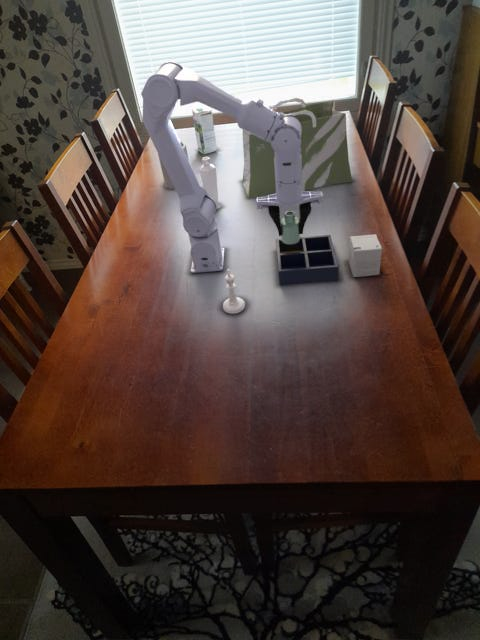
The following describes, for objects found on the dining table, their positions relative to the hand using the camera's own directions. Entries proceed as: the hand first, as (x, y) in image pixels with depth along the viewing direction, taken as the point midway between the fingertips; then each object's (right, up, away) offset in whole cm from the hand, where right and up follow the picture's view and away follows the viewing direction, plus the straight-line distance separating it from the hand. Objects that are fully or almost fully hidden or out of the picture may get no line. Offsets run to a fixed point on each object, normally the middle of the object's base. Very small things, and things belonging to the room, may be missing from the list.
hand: (290, 232), depth 106 cm
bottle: (0, -1, +1) cm, 2 cm away
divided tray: (+4, -7, +2) cm, 9 cm away
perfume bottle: (-19, +13, +29) cm, 37 cm away
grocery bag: (+6, +23, +36) cm, 43 cm away
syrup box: (-24, +42, +62) cm, 79 cm away
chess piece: (-13, -18, -6) cm, 23 cm away
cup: (-32, +25, +44) cm, 60 cm away
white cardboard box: (+17, -9, -1) cm, 19 cm away
